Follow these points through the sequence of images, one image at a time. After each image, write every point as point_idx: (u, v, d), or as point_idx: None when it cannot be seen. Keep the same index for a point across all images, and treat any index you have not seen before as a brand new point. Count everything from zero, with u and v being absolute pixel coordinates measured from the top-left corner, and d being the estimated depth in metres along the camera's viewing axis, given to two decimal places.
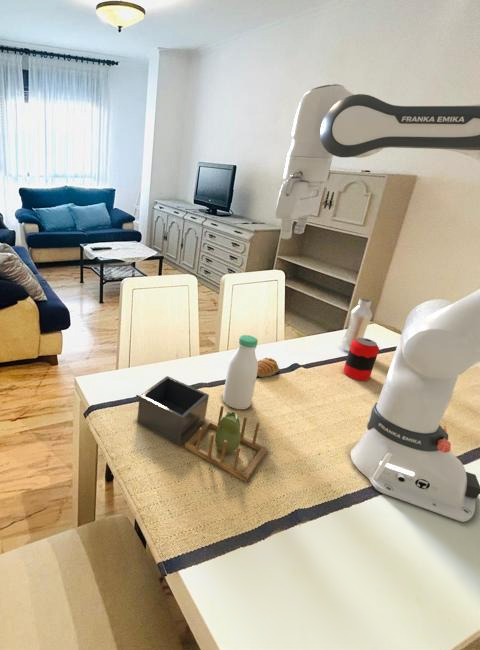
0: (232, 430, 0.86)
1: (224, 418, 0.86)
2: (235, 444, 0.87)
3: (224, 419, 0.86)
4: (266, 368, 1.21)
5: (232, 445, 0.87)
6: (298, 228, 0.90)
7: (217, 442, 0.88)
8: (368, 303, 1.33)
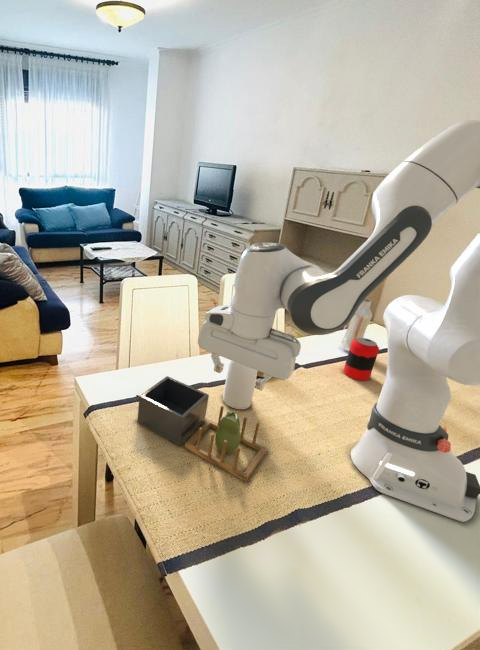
0: (232, 430, 0.86)
1: (224, 418, 0.86)
2: (235, 444, 0.87)
3: (224, 419, 0.86)
4: None
5: (232, 445, 0.87)
6: (221, 367, 0.85)
7: (217, 442, 0.88)
8: (368, 303, 1.33)
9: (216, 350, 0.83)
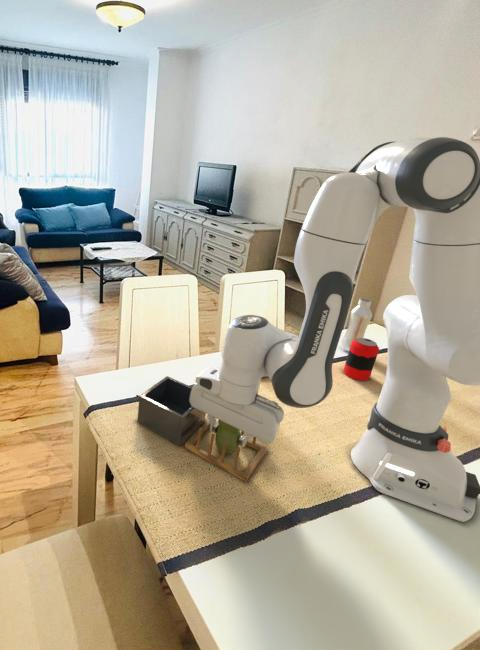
0: (232, 430, 0.86)
1: None
2: (235, 444, 0.87)
3: None
4: None
5: (232, 445, 0.87)
6: (217, 427, 0.90)
7: (217, 442, 0.88)
8: (368, 303, 1.33)
9: (206, 410, 0.88)
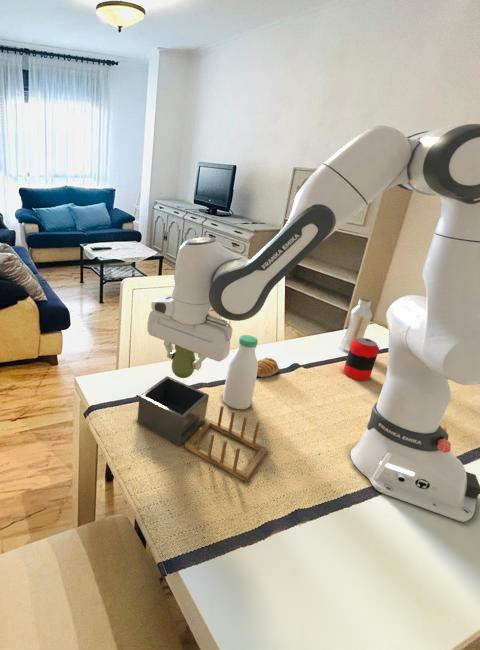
0: (186, 353, 0.89)
1: None
2: (189, 368, 0.89)
3: None
4: (265, 368, 1.21)
5: (186, 369, 0.89)
6: (173, 354, 0.93)
7: (173, 367, 0.91)
8: (368, 303, 1.33)
9: (163, 336, 0.91)
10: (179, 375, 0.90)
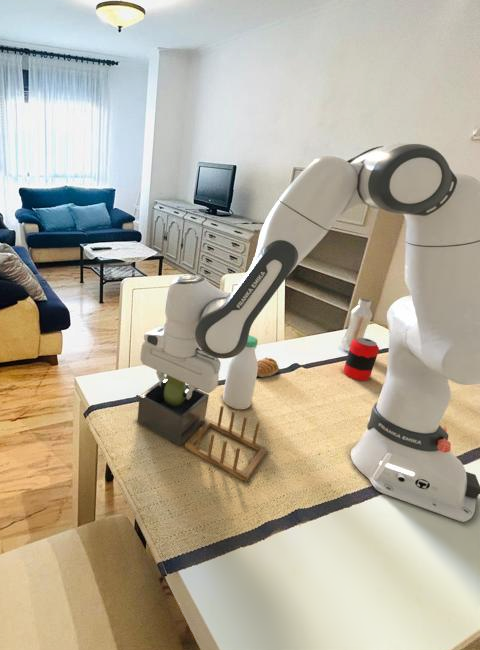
0: (177, 383, 0.93)
1: None
2: (180, 397, 0.93)
3: None
4: (265, 368, 1.21)
5: (178, 398, 0.93)
6: (165, 382, 0.97)
7: (165, 396, 0.95)
8: (368, 303, 1.33)
9: (155, 366, 0.95)
10: (171, 404, 0.94)
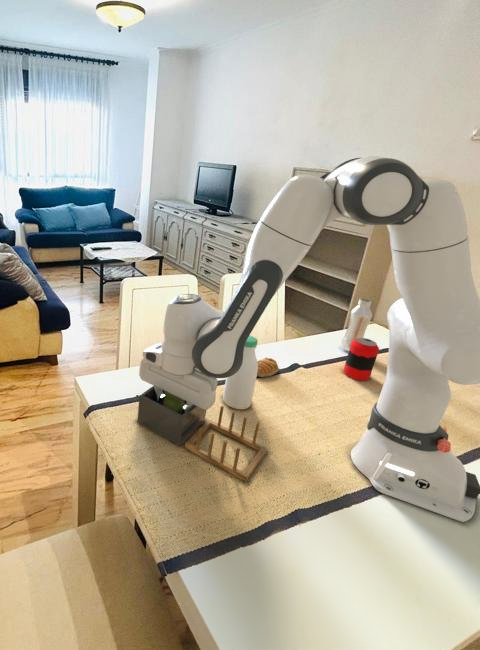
0: (175, 399, 0.94)
1: None
2: (179, 412, 0.95)
3: None
4: (265, 368, 1.21)
5: None
6: (163, 398, 0.99)
7: None
8: (368, 303, 1.33)
9: (153, 382, 0.97)
10: None
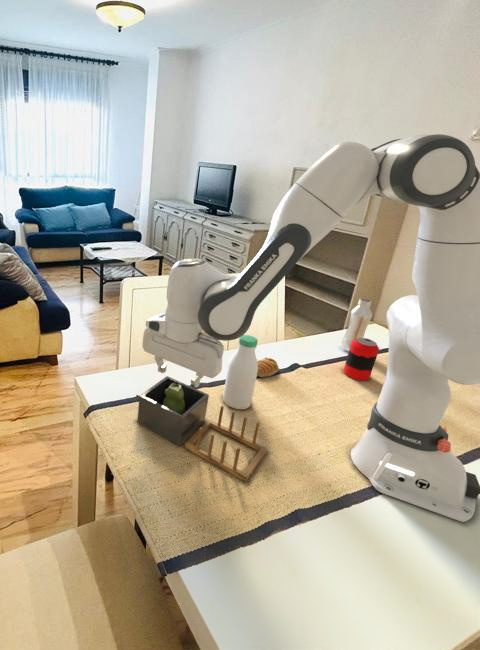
0: (175, 399, 0.94)
1: (168, 388, 0.95)
2: (179, 412, 0.95)
3: (169, 389, 0.94)
4: (265, 368, 1.21)
5: None
6: (164, 368, 0.96)
7: None
8: (368, 303, 1.33)
9: (157, 353, 0.94)
10: None
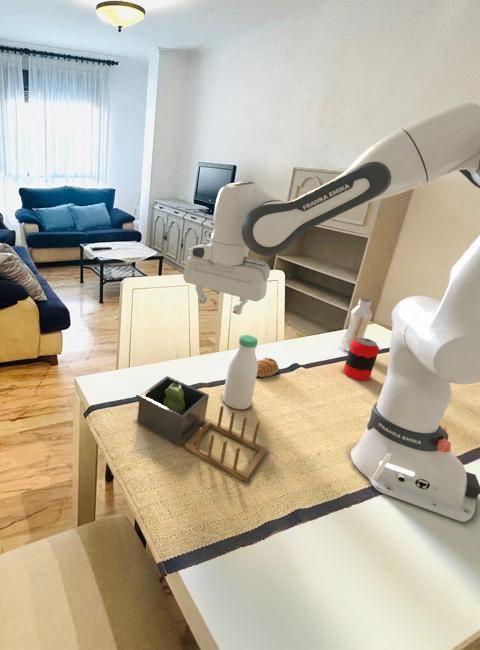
0: (175, 399, 0.94)
1: (168, 388, 0.95)
2: (179, 412, 0.95)
3: (169, 389, 0.94)
4: (265, 368, 1.21)
5: None
6: (204, 298, 0.97)
7: None
8: (368, 303, 1.33)
9: (199, 282, 0.95)
10: None
